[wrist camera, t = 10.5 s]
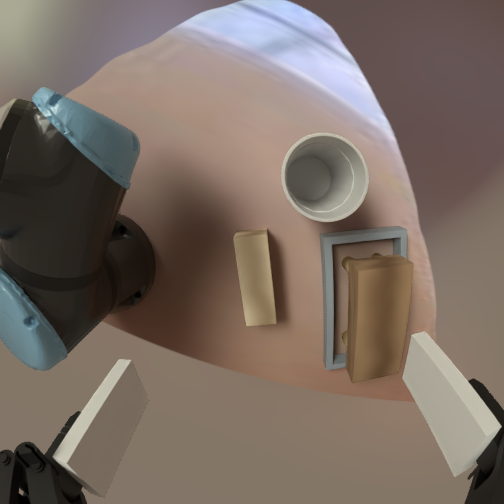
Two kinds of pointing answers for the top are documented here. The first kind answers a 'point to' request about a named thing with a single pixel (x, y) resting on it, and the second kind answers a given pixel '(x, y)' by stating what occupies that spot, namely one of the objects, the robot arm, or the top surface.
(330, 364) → the frame
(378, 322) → the board
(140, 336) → the top surface
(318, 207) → the cup
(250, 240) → the block
